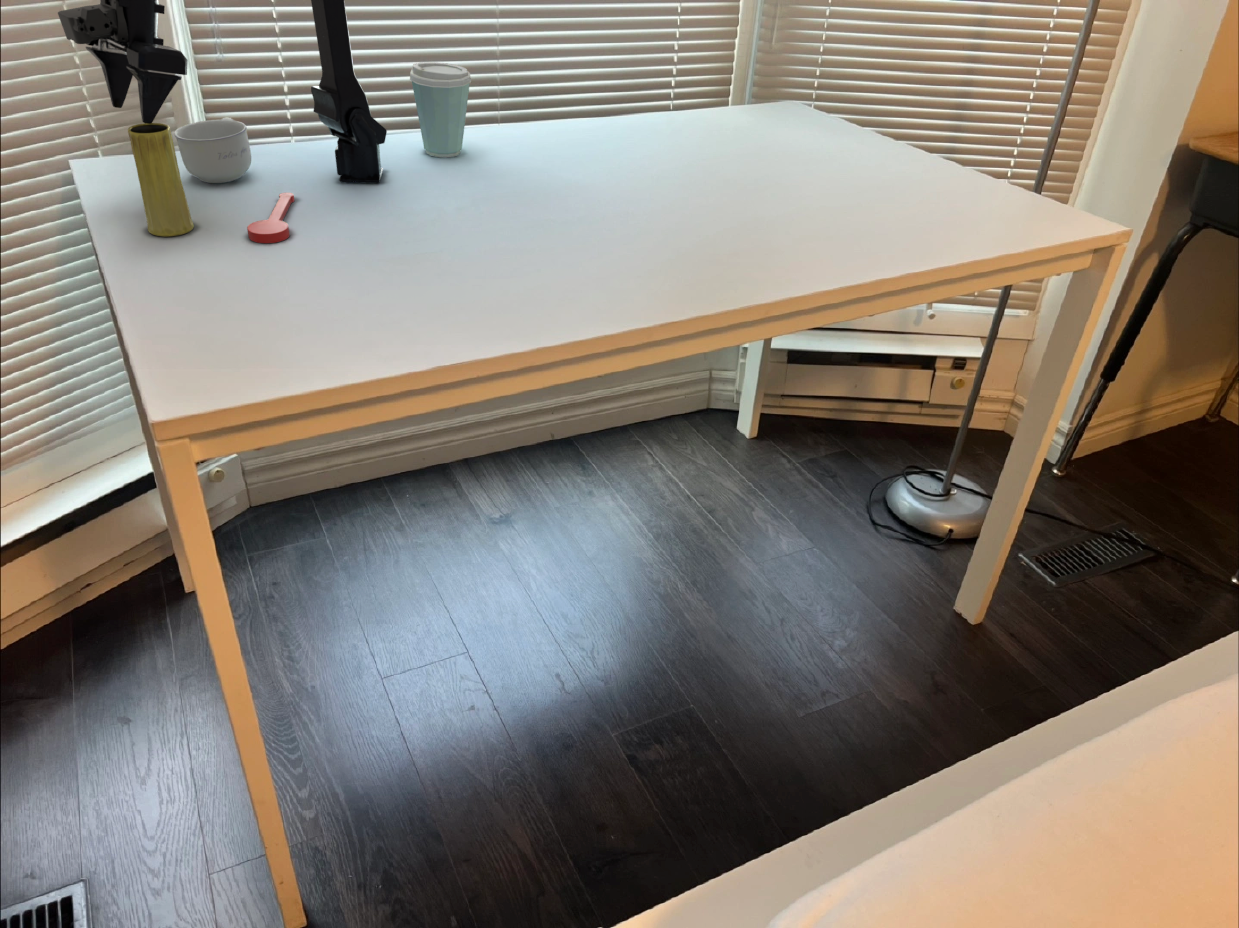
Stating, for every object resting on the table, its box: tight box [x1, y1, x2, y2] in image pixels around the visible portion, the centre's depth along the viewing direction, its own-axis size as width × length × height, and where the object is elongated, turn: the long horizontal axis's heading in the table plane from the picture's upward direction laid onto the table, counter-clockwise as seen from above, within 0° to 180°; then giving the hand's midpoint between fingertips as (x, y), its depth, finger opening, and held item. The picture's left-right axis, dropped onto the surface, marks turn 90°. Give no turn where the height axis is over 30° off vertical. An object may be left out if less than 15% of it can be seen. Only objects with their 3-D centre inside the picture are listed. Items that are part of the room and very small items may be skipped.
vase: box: [127, 122, 195, 238], centre depth 133 cm, size 6×6×14 cm
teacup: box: [173, 117, 252, 184], centre depth 154 cm, size 14×11×8 cm
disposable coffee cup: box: [409, 61, 472, 158], centre depth 168 cm, size 11×11×15 cm
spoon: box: [246, 191, 296, 244], centre depth 142 cm, size 6×18×1 cm, turn 6°
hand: (131, 115), depth 129 cm, fingers open, 9 cm apart
